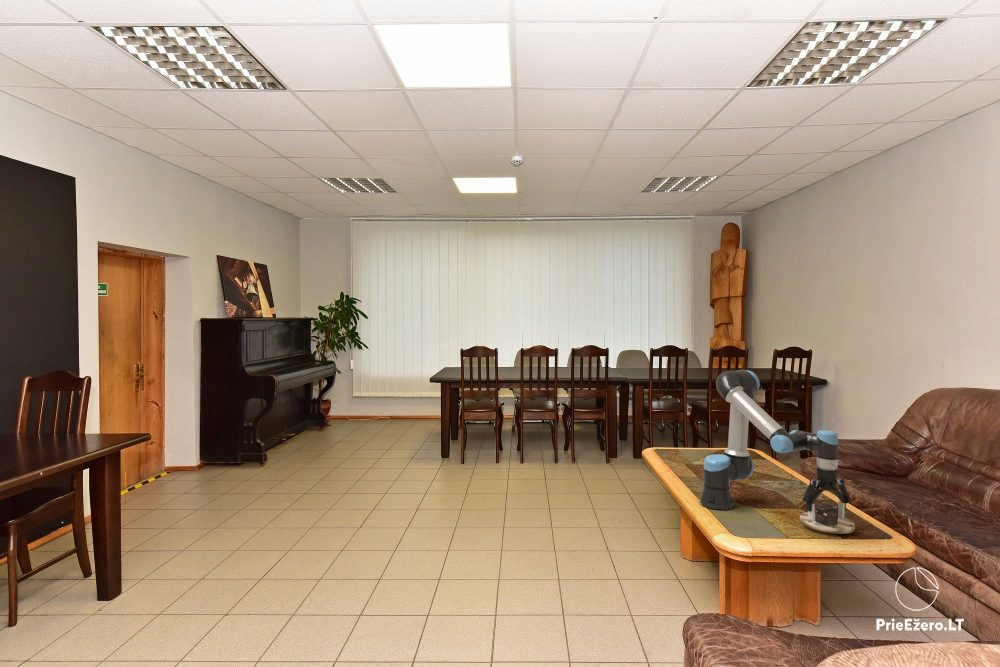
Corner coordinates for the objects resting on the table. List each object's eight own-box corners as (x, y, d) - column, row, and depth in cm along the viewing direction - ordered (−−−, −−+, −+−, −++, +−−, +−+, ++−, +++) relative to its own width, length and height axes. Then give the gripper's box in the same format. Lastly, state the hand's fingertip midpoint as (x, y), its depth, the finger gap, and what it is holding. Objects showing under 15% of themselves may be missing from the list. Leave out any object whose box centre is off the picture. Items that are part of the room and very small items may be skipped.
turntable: (848, 537, 218) (848, 521, 218) (793, 524, 232) (793, 509, 232) (859, 524, 232) (859, 509, 232) (807, 513, 246) (807, 498, 246)
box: (814, 521, 230) (814, 504, 230) (825, 519, 231) (826, 502, 231) (826, 526, 224) (827, 508, 224) (838, 525, 225) (838, 507, 225)
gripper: (805, 471, 222) (804, 522, 222) (861, 469, 225) (860, 520, 225) (793, 466, 229) (792, 516, 230) (847, 464, 232) (846, 514, 233)
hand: (826, 518), depth 228 cm, fingers open, 13 cm apart
